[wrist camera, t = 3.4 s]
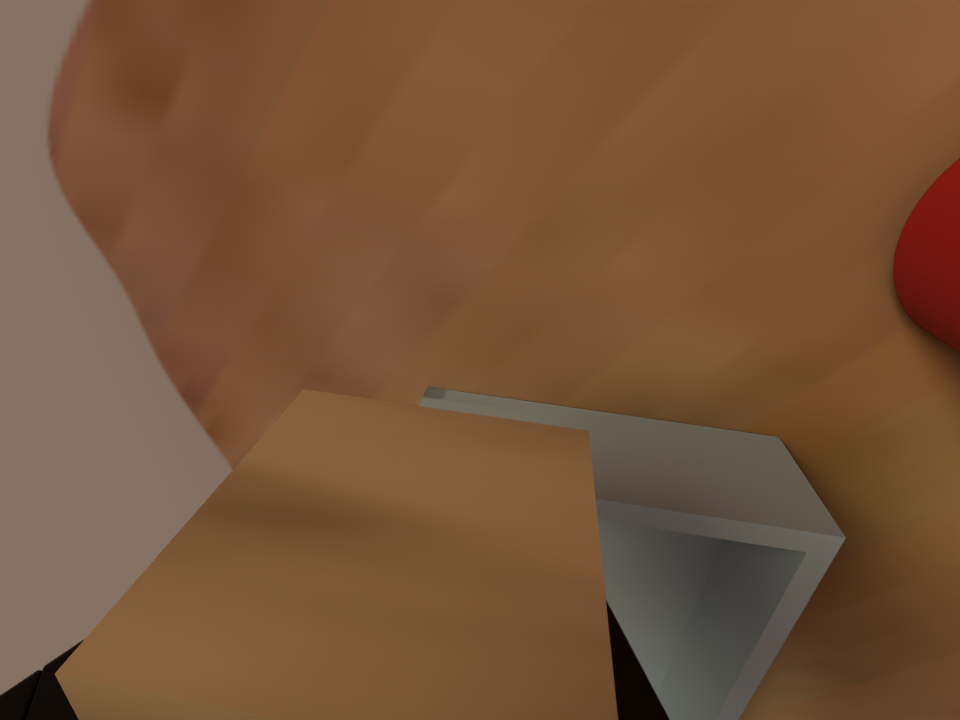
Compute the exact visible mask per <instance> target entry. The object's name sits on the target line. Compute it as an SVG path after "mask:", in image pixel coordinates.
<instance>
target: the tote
mask: <svg viewBox="0 0 960 720" xmlns="http://www.w3.org/2000/svg"><path fill="white" fill-rule="evenodd" d="M419 406H422V407H429V408H436V409H443V410H450V411H457V412H464V413H471V414H477V415H484V416H491V417H498V418H505V419H512V420H519V421H526V422H533V423H539V424H546V425H553V426H560V427H567V428H574V429H581V430H588V431H589V439H590V449H591V458H592V468H593V478H594V488H595V498H596V508H597V517H598V527H599V537H600V547H601V557H602V566H603V576H604V586H605V596H606V600H607V602H608V604H609V606H610V608H611V609H612V611H613V613H614V615H615V617H616V619H617V621H618V623H619V625H620V626H621V628H622V630H623V632H624V634H625V636H626V638H627V640H628V641H629V643H630V645H631V647H632V649H633V651H634V653H635V655H636V657H637V658H638V660H639V662H640V664H641V666H642V668H643V670H644V672H645V674H646V675H647V677H648V679H649V681H650V683H651V685H652V687H653V689H654V690H655V692H656V694H657V696H658V698H659V700H660V702H661V704H662V706H663V707H664V709H665V711H666V713H667V715H668V717H669V719H670V720H739V718H740V717H741V715H742V713H743V712H744V710H745V708H746V706H747V705H748V703H749V701H750V700H751V698H752V696H753V695H754V693H755V691H756V689H757V688H758V686H759V684H760V683H761V681H762V679H763V678H764V676H765V674H766V673H767V671H768V669H769V667H770V666H771V664H772V662H773V661H774V659H775V657H776V656H777V654H778V652H779V650H780V649H781V647H782V645H783V644H784V642H785V640H786V639H787V637H788V635H789V634H790V632H791V630H792V628H793V627H794V625H795V623H796V622H797V620H798V618H799V617H800V615H801V613H802V611H803V610H804V608H805V606H806V605H807V603H808V601H809V600H810V598H811V596H812V594H813V593H814V591H815V589H816V588H817V586H818V584H819V583H820V581H821V579H822V578H823V576H824V574H825V572H826V571H827V569H828V567H829V566H830V564H831V562H832V561H833V559H834V557H835V555H836V554H837V552H838V550H839V549H840V547H841V545H842V544H843V542H844V540H845V539H846V537H845V536H844V534H843V533H842V531H841V530H840V528H839V527H838V525H837V524H836V522H835V521H834V519H833V518H832V516H831V515H830V513H829V512H828V510H827V509H826V507H825V506H824V504H823V503H822V501H821V500H820V498H819V497H818V495H817V494H816V492H815V491H814V489H813V488H812V486H811V485H810V483H809V482H808V480H807V479H806V477H805V476H804V474H803V473H802V471H801V470H800V468H799V467H798V465H797V464H796V462H795V461H794V459H793V458H792V456H791V455H790V453H789V452H788V450H787V449H786V447H785V446H784V444H783V443H782V441H781V440H780V438H779V437H775V436H768V435H761V434H754V433H747V432H740V431H733V430H726V429H719V428H712V427H705V426H698V425H691V424H684V423H677V422H670V421H663V420H656V419H649V418H642V417H635V416H628V415H621V414H614V413H607V412H600V411H593V410H586V409H579V408H572V407H565V406H558V405H551V404H544V403H537V402H530V401H523V400H516V399H509V398H502V397H495V396H488V395H481V394H474V393H467V392H460V391H453V390H446V389H439V388H432V387H427V389H426V391H425V393H424V396H423V398H422V400H421V402H420V405H419Z"/></svg>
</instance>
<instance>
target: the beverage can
mask: <svg viewBox="0 0 960 720" xmlns="http://www.w3.org/2000/svg"><path fill="white" fill-rule="evenodd" d="M894 282H895V288H896V291H897V295H898V297H899V300H900V302H901V304H902V306H903V307H904V309H905V311H906V312H907V313H908V315H909V316H910V317H911V318H912V319H913V320H914V321H915V322H916V323H917V324H918V325H919V326H920V327H922V328H923V329H924V330H926V331H928V332H929V333H931V334H932V335H934V336H935V337H937V338H938V339H940V340H942V341H943V342H945V343H946V344H948V345H949V346H951V347H953V348H954V349H956V350H957V351H959V352H960V159H958V160H957V161H956V162H955V163H953V164H952V165H951V166H950V167H949V168H948V169H947V170H946V171H945V172H944V173H943V174H942V175H941V176H940V177H939V178H938V179H937V180H936V181H935V182H934V183H933V184H932V185H931V186H930V188H929V189H928V190H927V191H926V192H925V194H924V195H923V196H922V198H921V199H920V200H919V202H918V203H917V205H916V206H915V208H914V209H913V211H912V212H911V214H910V216H909V218H908V220H907V222H906V224H905V226H904V228H903V230H902V233H901V235H900V238H899V241H898V244H897V248H896V252H895V259H894Z"/></svg>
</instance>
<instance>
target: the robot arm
mask: <svg viewBox="0 0 960 720" xmlns="http://www.w3.org/2000/svg"><path fill="white" fill-rule="evenodd" d="M606 606H607V616H608V625H609V635H610V645H611V655H612V665H613V674H614V684H615V694H616V704H617V714H618V720H670V719H669V717H668V715H667V713H666V711H665V709H664V707H663V706H662V704H661V702H660V700H659V698H658V696H657V694H656V692H655V690H654V689H653V687H652V685H651V683H650V681H649V679H648V677H647V675H646V674H645V672H644V670H643V668H642V666H641V664H640V662H639V660H638V658H637V657H636V655H635V653H634V651H633V649H632V647H631V645H630V643H629V641H628V640H627V638H626V636H625V634H624V632H623V630H622V628H621V626H620V625H619V623H618V621H617V619H616V617H615V615H614V613H613V611H612V609H611V608H610V606H609V604H608V602H607V600H606ZM85 639H86V638H85ZM85 639H84V640H85ZM84 640H82V641H81V642H79V643H78V644H76V645H75V646H74V647H72V648H71V649H69V650H68V651H66V652H65V653H63V654H62V655H60V656H59V657H57V658H56V659H54V660H53V661H51V662H50V663H48V664H47V665H45V666H44V668H43V670H42V671H41V670H38V671H36V672H34V673H33V674H31V675H30V676H29V677H27V678H26V679H24V680H23V681H21V682H20V683H18V684H17V685H15V686H14V687H12V688H11V689H9V690H8V691H6V692H5V693H3V694H1V695H0V720H79V719H78V718H77V716H76V714H75V712H74V710H73V708H72V706H71V704H70V702H69V700H68V698H67V697H66V695H65V693H64V691H63V689H62V687H61V685H60V683H59V681H58V679H57V678H56V676H55V673H56V672H57V670H58V669H59V668H60V667H61V666H62V665H63V664H64V662H65V661H66V660H67V659H68V658H69V657H70V656H71V654H72V653H73V652H74V651H75V650H76V649H77V648H78V647H79V645H80V644H81V643H82V642H83V641H84Z"/></svg>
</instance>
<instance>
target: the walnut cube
mask: <svg viewBox="0 0 960 720" xmlns="http://www.w3.org/2000/svg"><path fill="white" fill-rule="evenodd" d="M55 676H56V678H57V679H58V681H59V683H60V685H61V687H62V689H63V691H64V693H65V695H66V697H67V698H68V700H69V702H70V704H71V706H72V708H73V710H74V712H75V714H76V716H77V718H78V719H79V720H618V714H617V704H616V694H615V684H614V674H613V665H612V655H611V645H610V635H609V625H608V616H607V606H606V596H605V586H604V576H603V566H602V557H601V547H600V537H599V527H598V517H597V508H596V498H595V488H594V478H593V468H592V458H591V449H590V439H589V431H588V430H581V429H574V428H567V427H560V426H553V425H546V424H539V423H533V422H526V421H519V420H512V419H505V418H498V417H491V416H484V415H477V414H471V413H464V412H457V411H450V410H443V409H436V408H429V407H422V406H416V405H409V404H402V403H395V402H388V401H381V400H374V399H367V398H360V397H354V396H347V395H340V394H333V393H326V392H319V391H312V390H305V389H304V390H303V391H302V392H301V393H300V394H299V395H298V396H297V398H296V399H295V400H294V401H293V402H292V403H291V404H290V406H289V407H288V408H287V409H286V410H285V411H284V412H283V414H282V415H281V416H280V417H279V418H278V419H277V420H276V422H275V423H274V424H273V425H272V426H271V427H270V428H269V430H268V431H267V432H266V433H265V434H264V435H263V436H262V438H261V439H260V440H259V441H258V442H257V443H256V444H255V446H254V447H253V448H252V449H251V450H250V451H249V452H248V454H247V455H246V456H245V457H244V458H243V459H242V460H241V462H240V463H239V464H238V465H237V466H236V467H235V468H234V470H233V471H232V472H231V473H230V474H229V475H228V476H227V478H226V479H225V480H224V481H223V482H222V483H221V484H220V486H219V487H218V488H217V489H216V490H215V491H214V493H213V494H212V495H211V496H210V497H209V498H208V499H207V500H206V502H205V503H204V504H203V505H202V506H201V507H200V509H199V510H198V511H197V512H196V513H195V514H194V515H193V517H192V518H191V519H190V520H189V521H188V522H187V523H186V524H185V525H184V527H183V528H182V529H181V530H180V531H179V533H177V535H176V536H175V537H174V538H173V539H172V540H171V541H170V543H169V544H168V545H167V546H166V547H165V548H164V549H163V551H162V552H161V553H160V554H159V555H158V556H157V558H156V559H155V560H154V561H153V562H152V563H151V564H150V565H149V567H148V568H147V569H146V570H145V571H144V572H143V573H142V575H141V576H140V577H139V578H138V579H137V580H136V581H135V583H134V584H133V585H132V586H131V587H130V588H129V589H128V591H127V592H126V593H125V594H124V595H123V596H122V597H121V599H120V600H119V601H118V602H117V603H116V604H115V605H114V607H113V608H112V609H111V610H110V611H109V612H108V613H107V615H106V616H105V617H104V618H103V619H102V620H101V621H100V623H99V624H98V625H97V626H96V627H95V628H94V629H93V631H92V632H91V633H90V634H89V635H88V636H87V637H86V639H85V640H84V641H83V642H82V643H81V644H80V645H79V647H78V648H77V649H76V650H75V651H74V652H73V653H72V654H71V656H70V657H69V658H68V659H67V660H66V661H65V662H64V664H63V665H62V666H61V667H60V668H59V669H58V670H57V672H56V673H55Z"/></svg>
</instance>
